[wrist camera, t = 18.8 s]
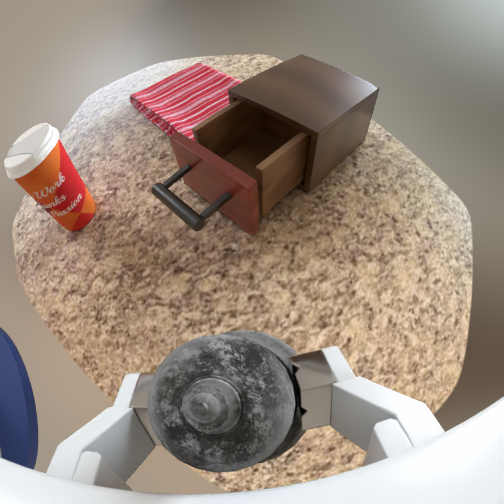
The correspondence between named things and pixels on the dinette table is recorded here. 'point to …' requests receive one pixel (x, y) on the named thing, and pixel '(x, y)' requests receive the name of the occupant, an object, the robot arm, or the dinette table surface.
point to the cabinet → (314, 108)
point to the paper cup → (50, 176)
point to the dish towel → (185, 98)
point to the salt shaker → (226, 401)
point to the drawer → (237, 165)
